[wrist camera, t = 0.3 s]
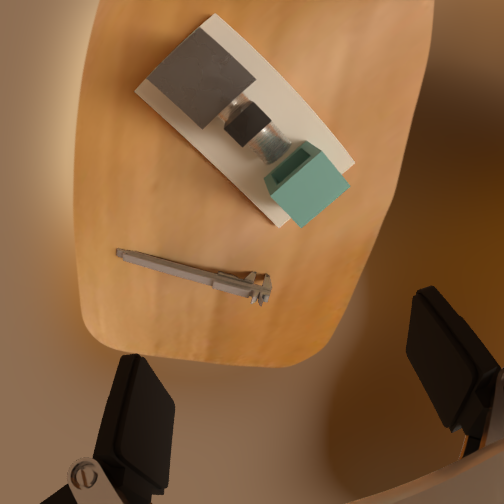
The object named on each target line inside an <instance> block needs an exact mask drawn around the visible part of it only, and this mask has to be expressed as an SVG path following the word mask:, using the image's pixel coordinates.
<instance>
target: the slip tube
mask: <svg viewBox="0 0 504 504" xmlns="http://www.w3.org/2000/svg"><path fill="white" fill-rule="evenodd" d="M217 116H218V117H219V118H220V119H221V120H222V121H223V122H224V123H225V124H224V130H225V131H226V132H227V133H228V134H229V135H230V136H231V137H232V138H233V139H234V140H235V141H236V142H237V143H238V144H239V145H240V146H241V147H242V148H243V147H244V146H245V145H247V146H248V147H249V148H250V149H251V150H252V151H253V152H254V153H255V154H256V155H257V156H258V157H259V158H260V159H261V160H262V161H263V162H264V163H265V164H266V165H270V164H272V163H274V162H275V161H277V160H278V159H279V158H280V157H282V156H283V155H284V154H285V153H286V152H287V151H288V149H289V148H290V146H291V144H292V143H291V141H290V140H289V139H288V138H287V137H286V136H285V135H284V134H283V133H282V132H281V131H280V130H279V128H278V127H277V126H276V125H275V124H274V123H273V122H272V120H271V119H270V118H269V117H268V116H267V115H266V114H265V113H264V112H263V111H262V110H261V109H260V108H259V107H258V106H257V105H256V104H255V103H254V102H253V101H252V100H251V99H250V98H249V97H248V96H247V95H246V94H244V93H243V92H242V93H241V94H240V95H239V96H237V97H236V98H235V99H234V100H233V101H232V102H231V103H230V104H229V105H228V106H227V107H225V108H224V109H223V110H222V111H221V112H220V113H219V114H218V115H217Z"/></svg>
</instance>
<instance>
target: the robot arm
mask: <svg viewBox="0 0 504 504" xmlns="http://www.w3.org/2000/svg"><path fill="white" fill-rule="evenodd" d="M406 353H407V357H408V359H409V360H410V362H411V364H412V366H413V368H414V370H415V371H416V373H417V375H418V377H419V379H420V381H421V382H422V384H423V386H424V388H425V390H426V392H427V394H428V396H429V398H430V400H431V402H432V403H433V405H434V407H435V409H436V411H437V413H438V415H439V417H440V419H441V421H442V423H443V425H444V426H445V427H446V428H448V427H449V429H450V431H451V433H453V432H455V431H457V430H459V429H461V428H462V429H463V431H464V433H465V435H466V436H465V440H464V443H463V447H462V450H461V453H460V457H459V460H458V461H456V462H454V463H452V464H450V465H448V466H446V467H444V468H442V469H439V470H437V471H435V472H432V473H430V474H428V475H426V476H423V477H421V478H419V479H416V480H414V481H411V482H409V483H406V484H404V485H401V486H398V487H396V488H393V489H390V490H387V491H384V492H381V493H378V494H375V495H372V496H369V497H366V498H362V499H359V500H356V501H352V502H348V503H345V504H504V368H502V369H501V367H500V366H499V365H498V363H497V362H496V361H495V359H494V358H493V356H492V355H491V354H490V353H489V351H488V350H487V348H486V347H485V346H484V344H483V343H482V342H481V340H480V339H479V338H478V337H477V335H476V334H475V333H474V331H473V330H472V329H471V328H470V326H469V325H468V324H467V323H466V321H465V320H464V319H463V318H462V317H461V316H459V315H458V314H457V313H456V311H455V310H454V309H453V308H452V307H451V305H450V304H449V303H448V302H447V301H446V299H445V298H444V297H443V296H442V295H441V294H440V292H439V291H438V290H437V289H436V288H435V287H434V286H429V287H426V288H423V289H420V290H418V291H417V292H416V295H415V296H413V300H412V308H411V317H410V324H409V332H408V338H407V345H406ZM174 415H175V404H174V401H173V400H172V398H171V397H170V395H169V394H168V392H167V391H166V389H165V388H164V386H163V385H162V383H161V382H160V380H159V379H158V377H157V376H156V374H155V373H154V371H153V370H152V368H151V367H150V365H149V364H148V362H147V360H146V359H145V358H144V357H141V356H140V355H139V354H130V355H123V356H122V357H121V358H120V362H119V365H118V368H117V371H116V374H115V378H114V381H113V384H112V388H111V391H110V395H109V397H108V400H107V403H106V407H105V411H104V414H103V418H102V422H101V426H100V429H99V433H98V437H97V442H96V445H95V450H94V454H93V458H89V457H84V458H80V459H78V460H76V461H75V462H74V463H73V464H72V465H71V466H70V468H69V470H68V473H67V481H68V484H67V485H65V486H64V487H62V488H61V489H60V490H58V491H57V492H55V493H54V494H53V495H51V496H50V497H48V498H47V499H46V500H44V501H43V502H41V503H40V504H152V503H151V496H152V494H153V495H164V488H167V487H168V482H169V469H170V456H171V444H172V435H173V424H174Z"/></svg>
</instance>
